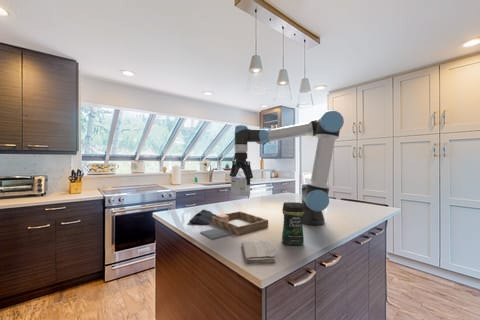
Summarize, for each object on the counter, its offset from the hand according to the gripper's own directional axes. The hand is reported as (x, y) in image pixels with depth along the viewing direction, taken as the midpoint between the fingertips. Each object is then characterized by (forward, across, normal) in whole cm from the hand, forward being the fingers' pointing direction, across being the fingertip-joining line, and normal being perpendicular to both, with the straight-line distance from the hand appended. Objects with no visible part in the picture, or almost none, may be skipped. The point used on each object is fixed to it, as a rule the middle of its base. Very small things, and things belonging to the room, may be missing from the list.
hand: (240, 189), depth 126 cm
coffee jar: (+21, +36, +3) cm, 41 cm away
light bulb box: (+4, 0, 0) cm, 4 cm away
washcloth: (+21, +34, -17) cm, 44 cm away
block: (+21, -8, -7) cm, 23 cm away
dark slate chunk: (+22, -23, -12) cm, 34 cm away
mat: (+21, +4, -19) cm, 28 cm away
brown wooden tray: (+21, 0, -1) cm, 21 cm away
